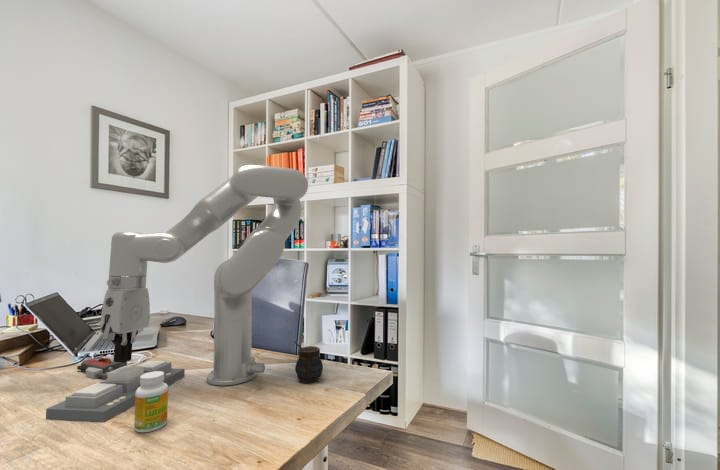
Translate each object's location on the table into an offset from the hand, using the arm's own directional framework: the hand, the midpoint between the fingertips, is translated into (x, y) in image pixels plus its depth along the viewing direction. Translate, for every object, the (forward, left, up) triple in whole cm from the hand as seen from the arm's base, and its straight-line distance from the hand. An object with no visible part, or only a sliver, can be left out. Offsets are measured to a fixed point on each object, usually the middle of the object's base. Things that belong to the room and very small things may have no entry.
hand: (122, 361), depth 79 cm
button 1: (-1, -8, -5) cm, 10 cm away
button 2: (-1, 0, -4) cm, 4 cm away
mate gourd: (-42, -13, -8) cm, 44 cm away
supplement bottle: (-18, +13, -8) cm, 23 cm away
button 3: (-1, +8, -5) cm, 9 cm away
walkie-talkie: (+17, -14, -9) cm, 23 cm away
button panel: (-1, 0, -8) cm, 8 cm away
